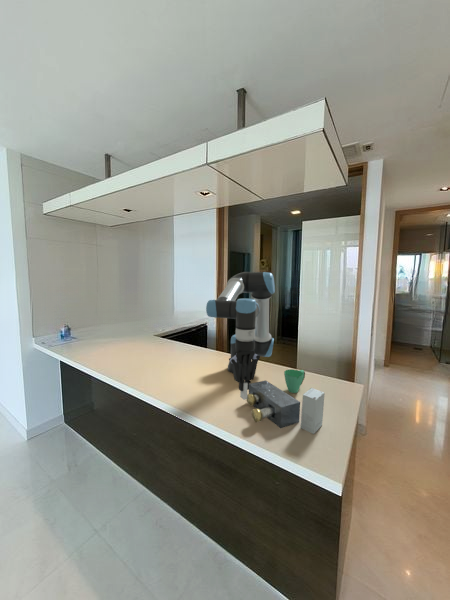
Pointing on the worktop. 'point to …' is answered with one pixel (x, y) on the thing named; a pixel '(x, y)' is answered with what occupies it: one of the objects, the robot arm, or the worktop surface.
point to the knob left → (252, 399)
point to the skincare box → (312, 410)
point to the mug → (294, 379)
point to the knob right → (262, 413)
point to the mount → (276, 403)
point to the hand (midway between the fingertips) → (243, 397)
